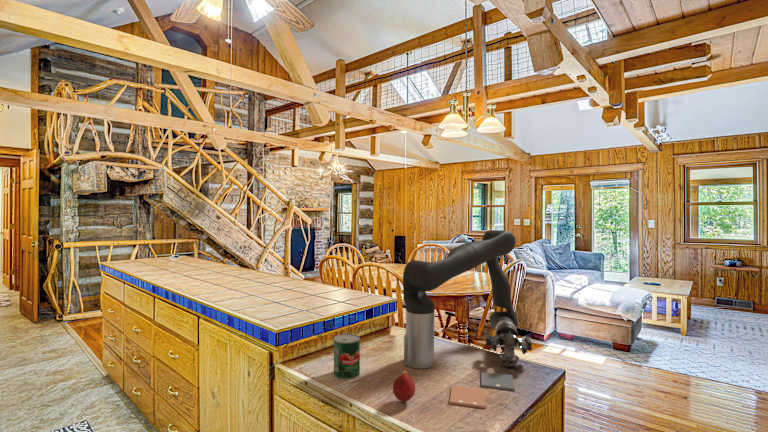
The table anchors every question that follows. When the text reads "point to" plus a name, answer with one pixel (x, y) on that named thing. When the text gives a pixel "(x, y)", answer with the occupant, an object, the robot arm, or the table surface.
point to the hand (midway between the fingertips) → (509, 349)
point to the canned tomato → (346, 356)
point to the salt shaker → (509, 354)
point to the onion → (404, 387)
